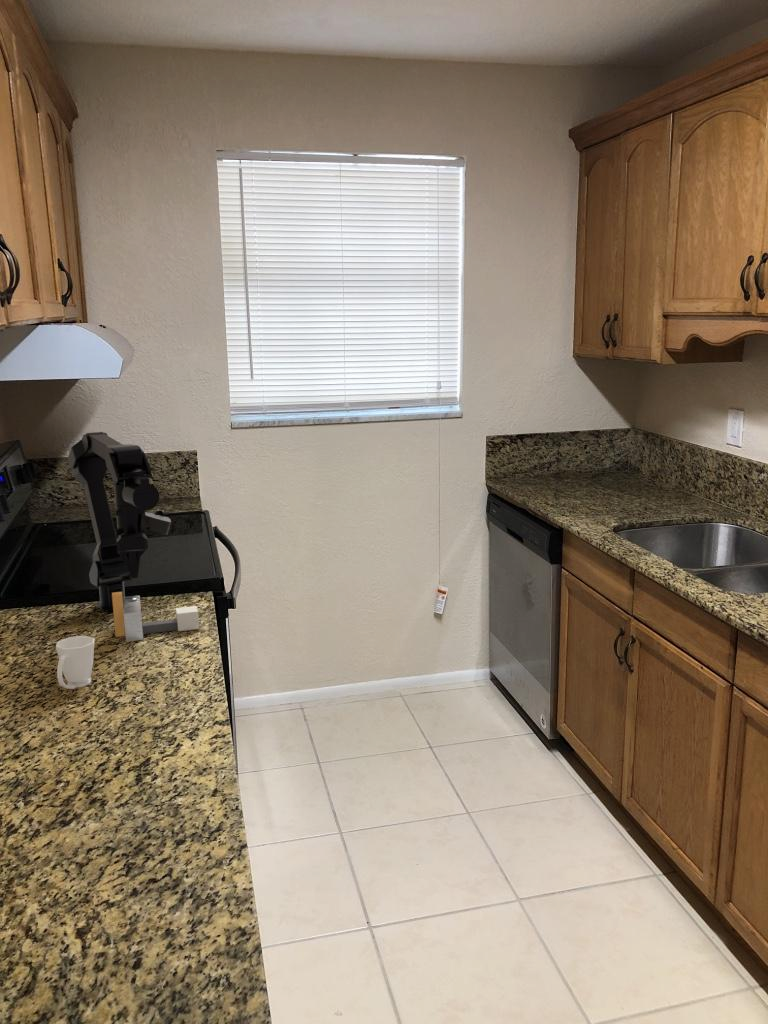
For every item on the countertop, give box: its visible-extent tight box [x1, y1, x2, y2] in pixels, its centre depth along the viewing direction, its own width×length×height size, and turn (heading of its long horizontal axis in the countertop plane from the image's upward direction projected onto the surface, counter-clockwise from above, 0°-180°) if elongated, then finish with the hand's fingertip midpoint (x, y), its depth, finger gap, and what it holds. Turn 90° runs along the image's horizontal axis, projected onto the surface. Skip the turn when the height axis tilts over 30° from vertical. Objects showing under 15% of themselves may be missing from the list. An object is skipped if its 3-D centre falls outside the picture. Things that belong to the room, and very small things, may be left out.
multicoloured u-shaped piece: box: [112, 592, 200, 638], centre depth 179 cm, size 18×4×9 cm, turn 107°
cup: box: [55, 635, 95, 690], centre depth 151 cm, size 7×10×8 cm
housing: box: [123, 595, 144, 643], centre depth 179 cm, size 4×12×6 cm, turn 17°
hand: (134, 572), depth 183 cm, fingers open, 9 cm apart
